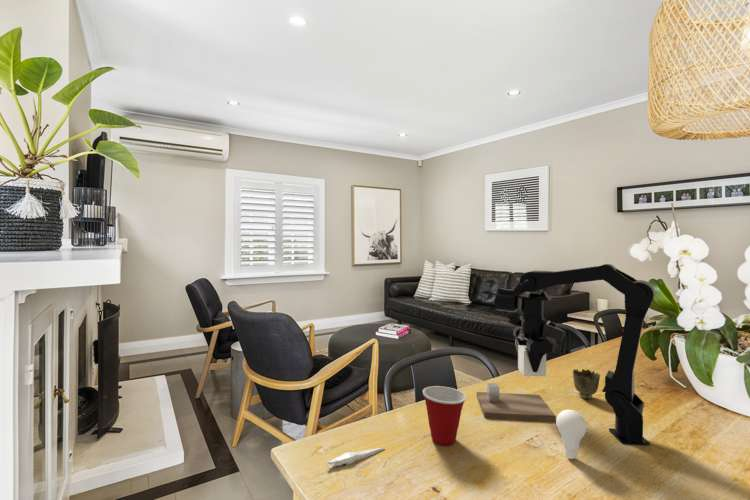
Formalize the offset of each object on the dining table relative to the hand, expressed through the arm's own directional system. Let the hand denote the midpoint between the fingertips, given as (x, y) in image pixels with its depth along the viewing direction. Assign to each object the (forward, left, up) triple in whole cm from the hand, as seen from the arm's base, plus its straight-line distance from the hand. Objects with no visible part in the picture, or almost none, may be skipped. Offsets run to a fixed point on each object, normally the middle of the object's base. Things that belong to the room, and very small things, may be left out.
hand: (531, 368), depth 108 cm
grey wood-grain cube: (+3, +10, -11) cm, 15 cm away
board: (+1, +5, -12) cm, 14 cm away
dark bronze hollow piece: (+11, -20, -13) cm, 26 cm away
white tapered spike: (-29, +46, -13) cm, 56 cm away
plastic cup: (-19, +26, -13) cm, 35 cm away
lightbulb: (-24, -2, -13) cm, 27 cm away
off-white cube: (0, 0, -1) cm, 1 cm away
